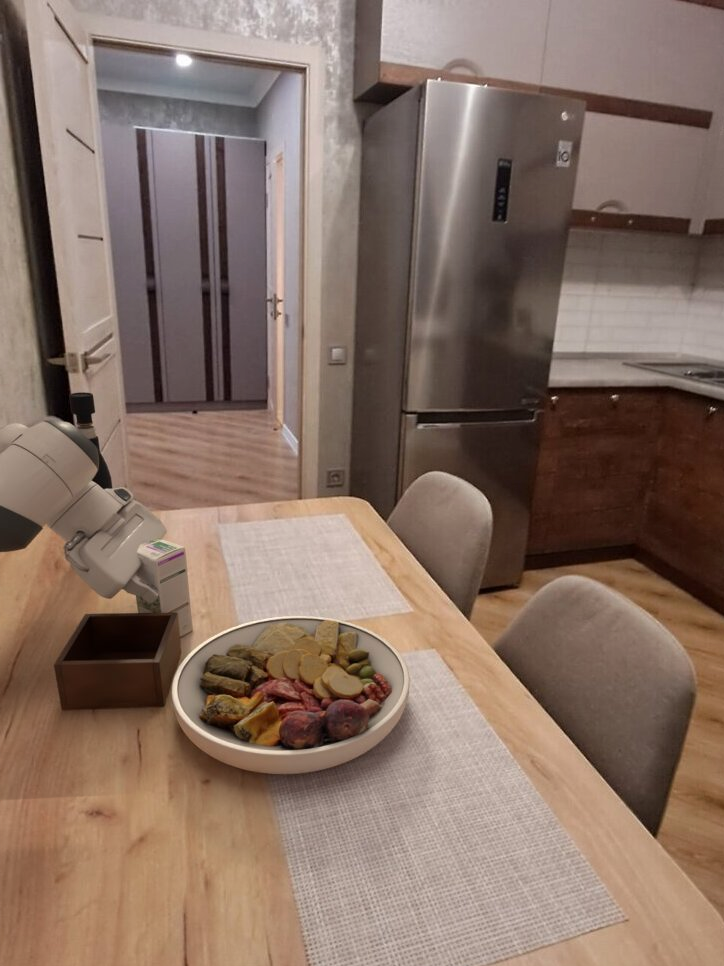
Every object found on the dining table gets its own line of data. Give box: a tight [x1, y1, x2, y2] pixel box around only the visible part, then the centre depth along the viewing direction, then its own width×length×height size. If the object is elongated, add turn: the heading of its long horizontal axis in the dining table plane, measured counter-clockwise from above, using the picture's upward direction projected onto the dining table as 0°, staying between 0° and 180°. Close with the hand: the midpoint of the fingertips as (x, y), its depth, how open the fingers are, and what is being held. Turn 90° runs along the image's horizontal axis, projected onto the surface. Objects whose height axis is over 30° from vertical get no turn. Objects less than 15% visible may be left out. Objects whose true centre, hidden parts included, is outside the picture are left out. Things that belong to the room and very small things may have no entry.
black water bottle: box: [68, 391, 114, 489], centre depth 123 cm, size 6×6×30 cm
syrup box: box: [135, 538, 194, 638], centre depth 100 cm, size 6×6×14 cm
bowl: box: [170, 615, 411, 775], centre depth 86 cm, size 30×30×8 cm
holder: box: [53, 612, 182, 711], centre depth 90 cm, size 13×13×7 cm
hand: (165, 583), depth 99 cm, fingers closed on syrup box, 7 cm apart
